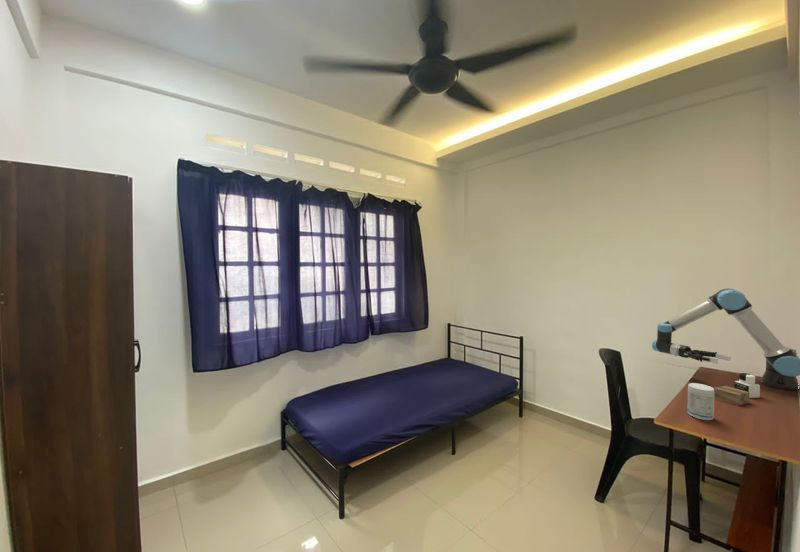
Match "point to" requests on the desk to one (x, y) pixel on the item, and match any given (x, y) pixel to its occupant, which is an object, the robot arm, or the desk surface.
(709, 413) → the supplement tub
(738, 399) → the walnut block
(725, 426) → the desk surface
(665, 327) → the robot arm
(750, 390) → the medicine bottle
